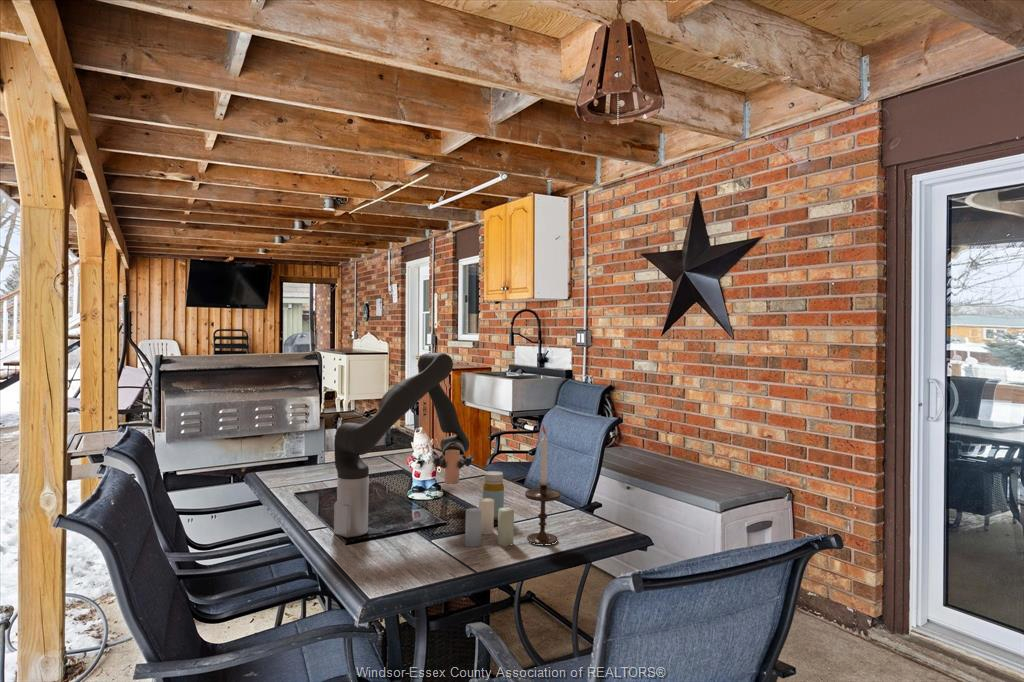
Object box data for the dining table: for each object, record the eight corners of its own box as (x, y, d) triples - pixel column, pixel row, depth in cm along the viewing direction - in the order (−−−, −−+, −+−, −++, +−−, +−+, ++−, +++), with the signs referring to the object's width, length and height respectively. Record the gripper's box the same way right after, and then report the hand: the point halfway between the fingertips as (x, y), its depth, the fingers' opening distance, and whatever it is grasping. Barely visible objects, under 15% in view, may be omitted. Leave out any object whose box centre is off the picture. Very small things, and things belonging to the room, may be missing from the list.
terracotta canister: (452, 484, 193) (453, 453, 193) (441, 482, 196) (442, 451, 195) (462, 482, 197) (462, 450, 196) (451, 479, 199) (451, 448, 199)
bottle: (485, 521, 201) (485, 476, 201) (480, 515, 208) (481, 471, 207) (505, 520, 203) (506, 475, 203) (500, 514, 210) (501, 470, 209)
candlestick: (530, 548, 177) (533, 427, 177) (519, 536, 188) (522, 421, 187) (565, 545, 180) (568, 426, 180) (553, 533, 191) (555, 420, 190)
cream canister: (487, 535, 187) (487, 503, 187) (475, 532, 190) (476, 500, 190) (496, 532, 191) (497, 500, 191) (484, 528, 194) (485, 497, 194)
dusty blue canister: (474, 548, 177) (474, 513, 176) (461, 544, 179) (462, 510, 179) (484, 543, 180) (484, 509, 180) (472, 540, 183) (472, 507, 183)
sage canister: (507, 547, 178) (507, 513, 178) (494, 544, 180) (495, 510, 180) (516, 543, 181) (517, 509, 181) (503, 539, 184) (504, 506, 184)
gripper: (432, 443, 210) (429, 453, 193) (474, 443, 211) (475, 453, 194) (432, 464, 210) (428, 477, 193) (474, 465, 211) (474, 477, 194)
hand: (452, 465), depth 193 cm, fingers closed on terracotta canister, 4 cm apart
